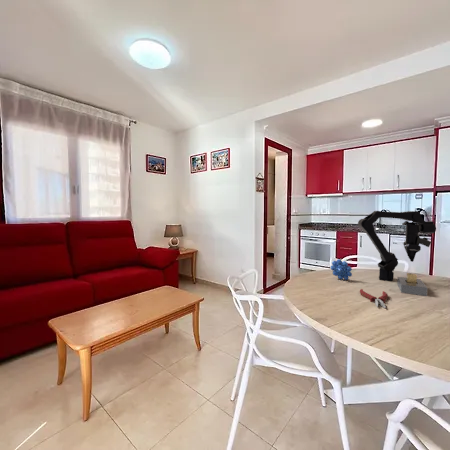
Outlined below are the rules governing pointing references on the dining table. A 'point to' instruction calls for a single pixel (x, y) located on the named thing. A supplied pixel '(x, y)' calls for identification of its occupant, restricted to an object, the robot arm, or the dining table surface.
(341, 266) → the grapes
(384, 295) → the pliers
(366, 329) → the dining table surface
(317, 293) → the dining table surface
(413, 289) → the grey block with hole
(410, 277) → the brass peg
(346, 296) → the dining table surface
